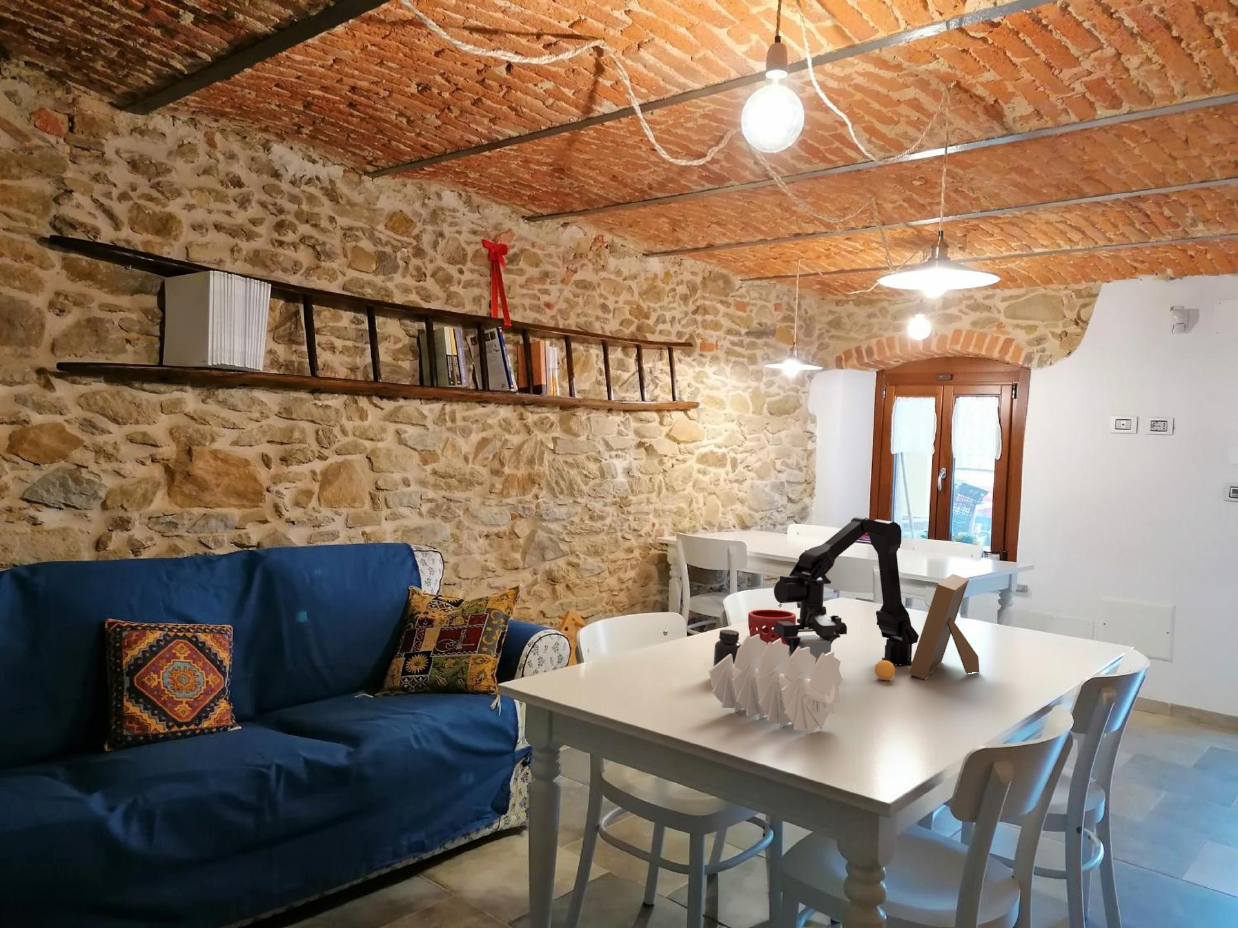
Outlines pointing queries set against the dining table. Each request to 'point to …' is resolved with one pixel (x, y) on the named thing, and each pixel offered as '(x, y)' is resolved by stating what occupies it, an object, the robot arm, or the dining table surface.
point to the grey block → (814, 645)
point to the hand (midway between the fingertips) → (809, 660)
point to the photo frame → (943, 630)
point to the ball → (885, 670)
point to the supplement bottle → (726, 645)
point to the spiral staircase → (778, 683)
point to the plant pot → (768, 623)
